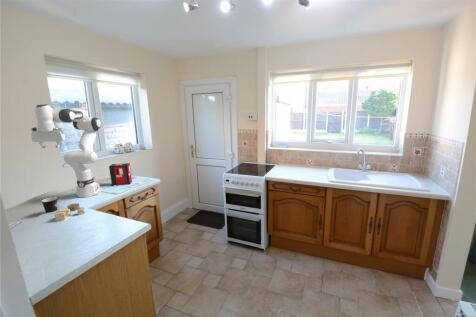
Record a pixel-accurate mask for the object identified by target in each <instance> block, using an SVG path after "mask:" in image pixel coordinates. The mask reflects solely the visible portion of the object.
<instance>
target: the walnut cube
mask: <svg viewBox="0 0 476 317" xmlns="http://www.w3.org/2000/svg"><path fill="white" fill-rule="evenodd" d="M66 207H67V209H70V212H76V211H77V209H78V208H80V207H81V206H80V203H79V202H77V203H70V204H69V205H67V206H66Z"/></svg>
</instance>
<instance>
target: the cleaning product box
mask: <svg viewBox="0 0 476 317" xmlns="http://www.w3.org/2000/svg"><path fill="white" fill-rule="evenodd" d="M108 169H109V175H110V184H111V186H112V187H113V186H114V185H116V186H125V185H127V186H128V185H129V186H130V185H131V184H132V182H133V179H132V171H131V165H130V162H126V163H125V162H123V163H113V164H110V165H109V166H108ZM114 187H115V186H114Z"/></svg>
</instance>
